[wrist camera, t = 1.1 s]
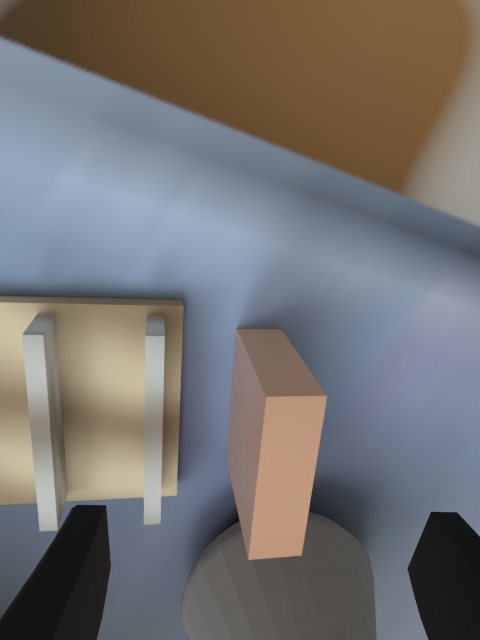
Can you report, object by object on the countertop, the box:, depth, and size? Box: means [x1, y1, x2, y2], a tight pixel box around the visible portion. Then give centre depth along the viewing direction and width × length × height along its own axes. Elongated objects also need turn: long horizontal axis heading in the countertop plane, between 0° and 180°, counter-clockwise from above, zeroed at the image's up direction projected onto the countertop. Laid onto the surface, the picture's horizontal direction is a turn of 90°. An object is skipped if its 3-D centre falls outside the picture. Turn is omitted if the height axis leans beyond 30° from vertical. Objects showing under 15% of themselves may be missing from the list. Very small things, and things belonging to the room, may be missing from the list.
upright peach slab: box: [226, 329, 327, 560], centre depth 22 cm, size 8×2×7 cm, turn 175°
